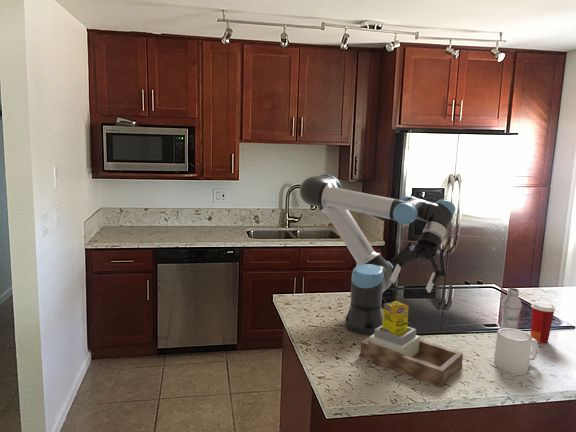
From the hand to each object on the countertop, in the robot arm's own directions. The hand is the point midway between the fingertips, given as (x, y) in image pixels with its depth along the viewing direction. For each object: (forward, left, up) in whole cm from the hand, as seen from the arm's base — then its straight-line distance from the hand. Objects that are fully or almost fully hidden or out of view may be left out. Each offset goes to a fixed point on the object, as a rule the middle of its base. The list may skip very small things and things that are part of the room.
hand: (409, 286), depth 161 cm
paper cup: (+34, +39, -22) cm, 56 cm away
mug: (+33, +12, -22) cm, 41 cm away
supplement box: (+1, -10, -15) cm, 18 cm away
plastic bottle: (+26, +29, -22) cm, 45 cm away
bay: (+7, -10, -22) cm, 25 cm away
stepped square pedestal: (+1, -10, -21) cm, 23 cm away
